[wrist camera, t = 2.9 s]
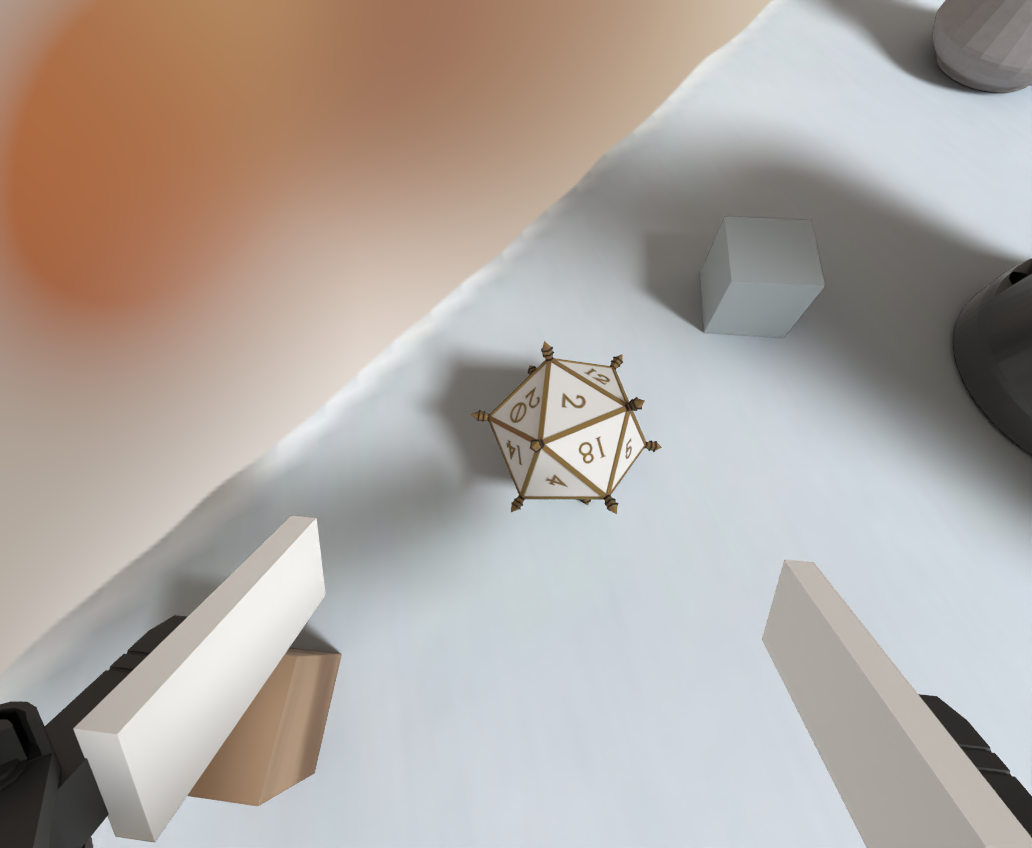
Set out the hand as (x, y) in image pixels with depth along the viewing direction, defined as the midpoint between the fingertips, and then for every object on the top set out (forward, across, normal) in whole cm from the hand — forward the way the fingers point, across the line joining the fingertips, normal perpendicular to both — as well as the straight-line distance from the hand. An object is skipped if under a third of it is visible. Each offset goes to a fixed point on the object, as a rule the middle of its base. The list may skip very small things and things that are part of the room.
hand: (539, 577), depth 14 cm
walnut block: (+5, -12, -13) cm, 18 cm away
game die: (+15, +1, -3) cm, 15 cm away
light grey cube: (+23, +12, +6) cm, 26 cm away
